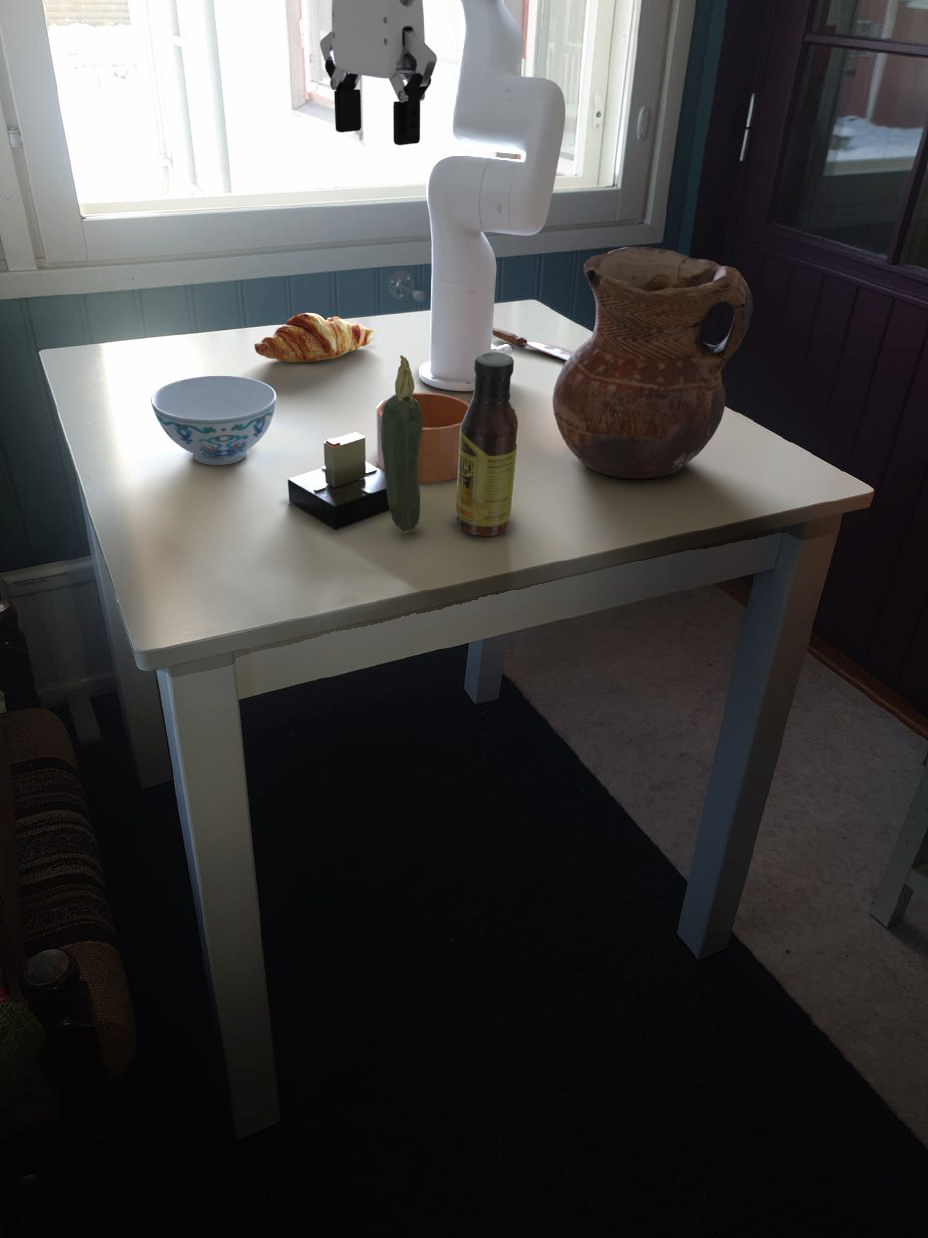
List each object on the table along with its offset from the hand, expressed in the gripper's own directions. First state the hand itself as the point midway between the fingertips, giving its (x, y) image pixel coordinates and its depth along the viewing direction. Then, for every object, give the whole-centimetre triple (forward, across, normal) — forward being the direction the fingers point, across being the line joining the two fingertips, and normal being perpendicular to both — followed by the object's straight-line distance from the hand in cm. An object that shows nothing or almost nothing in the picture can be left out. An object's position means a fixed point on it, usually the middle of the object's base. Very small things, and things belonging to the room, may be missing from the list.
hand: (376, 137), depth 104 cm
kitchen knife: (+38, +16, -49) cm, 64 cm away
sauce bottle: (+37, -22, +4) cm, 44 cm away
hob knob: (+34, -8, +12) cm, 37 cm away
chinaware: (+37, +13, +16) cm, 43 cm away
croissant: (+38, +37, -17) cm, 56 cm away
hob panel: (+37, -8, +12) cm, 40 cm away
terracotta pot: (+37, -5, -3) cm, 38 cm away
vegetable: (+37, -18, +12) cm, 43 cm away
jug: (+38, -21, -25) cm, 50 cm away
